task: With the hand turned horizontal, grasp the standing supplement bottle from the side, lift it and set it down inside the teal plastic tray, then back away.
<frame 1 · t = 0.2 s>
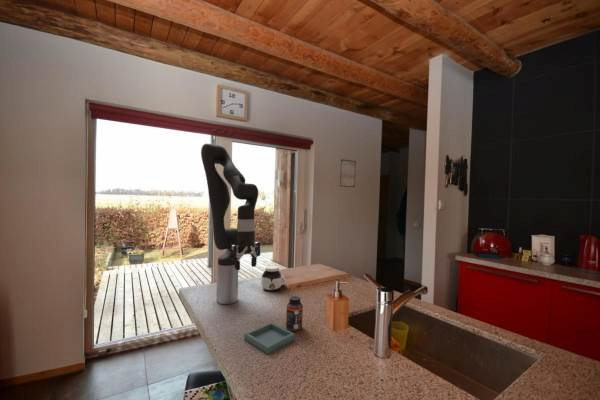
hand: (245, 268, 116), 18 cm above the worktop, tool pointing down, fingers open, 8 cm apart
tray: (269, 340, 92), on the worktop
spread jar: (274, 288, 145), on the worktop
supplement bottle: (294, 328, 101), on the worktop
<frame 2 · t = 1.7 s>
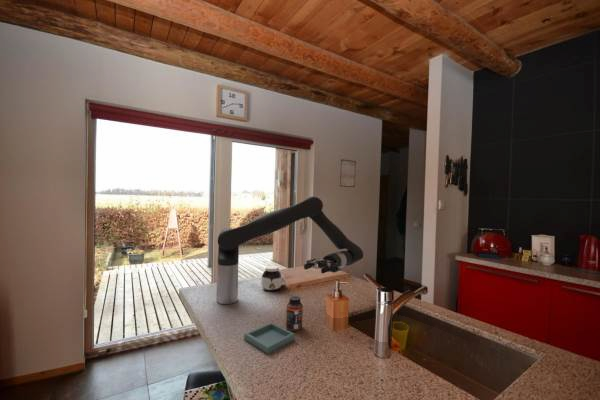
hand: (313, 268, 110), 20 cm above the worktop, tool horizontal, fingers open, 8 cm apart
nothing on the worktop moved.
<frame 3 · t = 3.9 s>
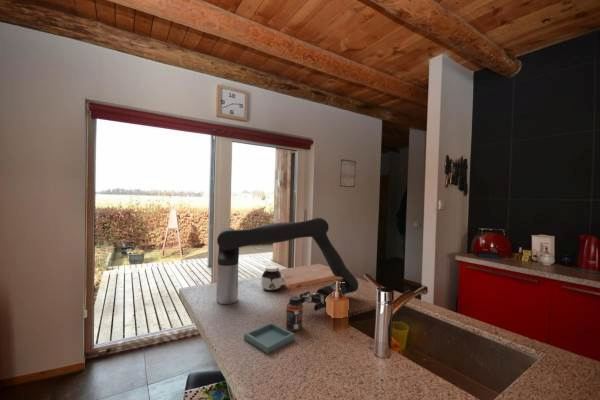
hand: (306, 305, 107), 6 cm above the worktop, tool horizontal, fingers open, 8 cm apart
nothing on the worktop moved.
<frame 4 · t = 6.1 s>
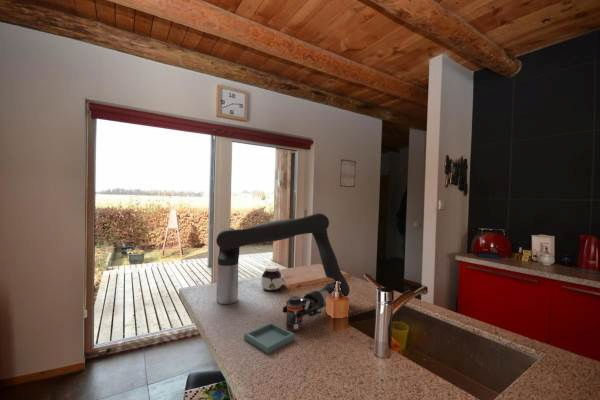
hand: (290, 312, 99), 7 cm above the worktop, tool horizontal, fingers closed on supplement bottle, 6 cm apart
supplement bottle: (294, 328, 101), on the worktop, touching gripper
everything else where it was.
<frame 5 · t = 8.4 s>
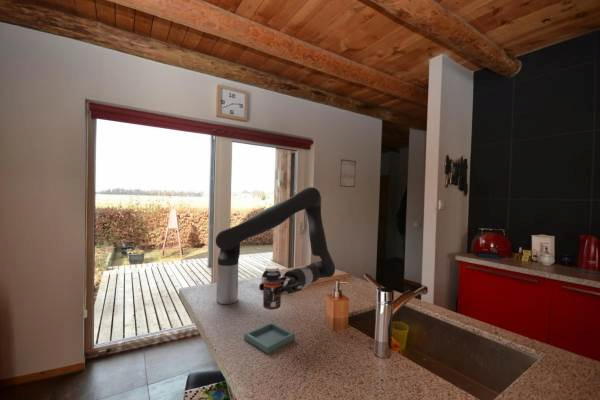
hand: (267, 289, 91), 18 cm above the worktop, tool horizontal, fingers closed on supplement bottle, 6 cm apart
supplement bottle: (271, 307, 93), point 11 cm above the worktop, touching gripper
everything else where it was.
when the fingers open (8 cm above the worktop, at t = 10.8 s): supplement bottle moves 1 cm, resting on tray.
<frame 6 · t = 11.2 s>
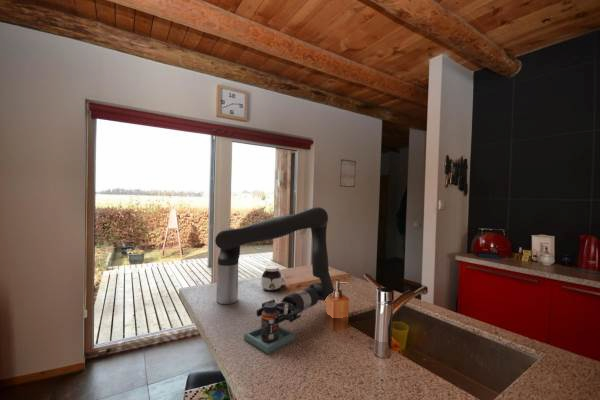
hand: (265, 316, 91), 8 cm above the worktop, tool horizontal, fingers open, 8 cm apart
supplement bottle: (270, 338, 93), resting on tray
everything else where it was.
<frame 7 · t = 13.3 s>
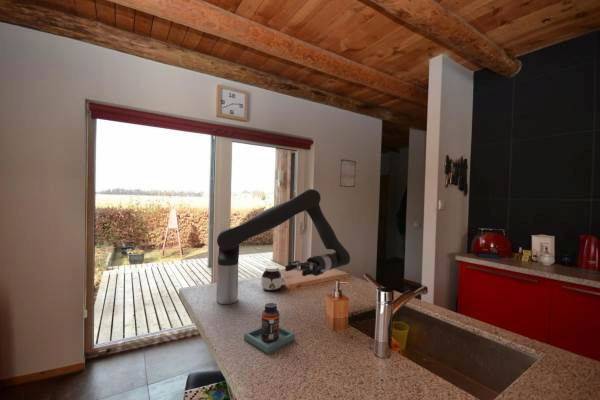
hand: (294, 270, 104), 20 cm above the worktop, tool horizontal, fingers open, 8 cm apart
nothing on the worktop moved.
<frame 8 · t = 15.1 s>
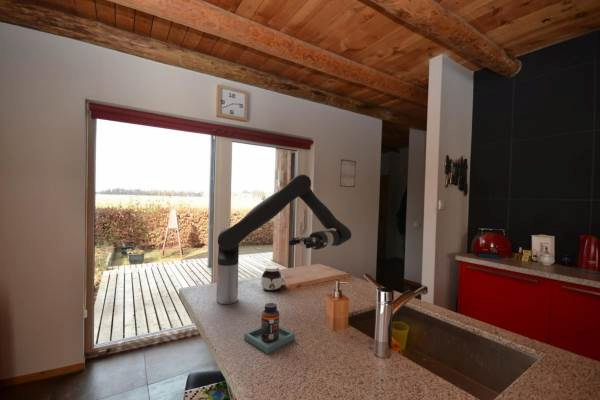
hand: (297, 244, 107), 30 cm above the worktop, tool horizontal, fingers open, 8 cm apart
nothing on the worktop moved.
at the end: supplement bottle inside the target area on the tray (0.1 cm from its centre), point 0.4 cm above the tray's base; supplement bottle tilted 0°; the gripper is holding nothing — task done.
